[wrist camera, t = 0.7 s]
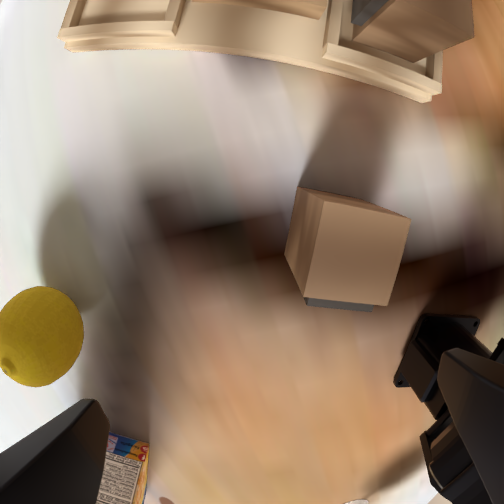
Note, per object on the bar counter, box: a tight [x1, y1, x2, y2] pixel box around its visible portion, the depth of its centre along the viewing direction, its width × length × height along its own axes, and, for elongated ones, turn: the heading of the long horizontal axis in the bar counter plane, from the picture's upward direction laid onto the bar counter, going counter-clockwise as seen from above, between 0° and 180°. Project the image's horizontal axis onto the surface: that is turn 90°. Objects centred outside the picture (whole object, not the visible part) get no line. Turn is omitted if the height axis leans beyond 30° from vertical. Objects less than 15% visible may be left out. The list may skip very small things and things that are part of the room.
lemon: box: [0, 286, 84, 387], centre depth 15 cm, size 6×6×8 cm
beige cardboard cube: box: [285, 187, 411, 312], centre depth 16 cm, size 5×4×6 cm
